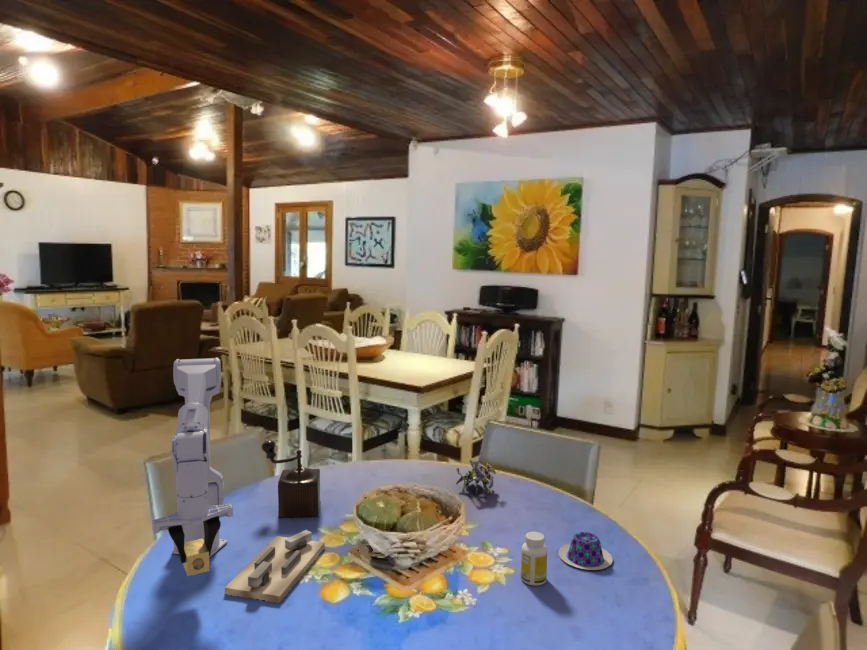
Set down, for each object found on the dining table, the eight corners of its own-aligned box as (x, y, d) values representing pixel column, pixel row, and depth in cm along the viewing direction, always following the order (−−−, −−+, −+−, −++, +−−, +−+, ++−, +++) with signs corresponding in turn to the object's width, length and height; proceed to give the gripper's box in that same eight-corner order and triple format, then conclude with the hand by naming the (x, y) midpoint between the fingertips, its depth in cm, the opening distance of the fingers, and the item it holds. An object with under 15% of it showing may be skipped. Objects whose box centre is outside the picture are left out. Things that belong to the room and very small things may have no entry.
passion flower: (488, 511, 170) (499, 488, 162) (451, 504, 170) (460, 481, 162) (488, 477, 179) (499, 454, 171) (453, 471, 178) (462, 448, 170)
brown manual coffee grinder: (321, 499, 164) (320, 436, 162) (318, 517, 153) (318, 450, 151) (263, 501, 162) (262, 438, 160) (257, 520, 151) (255, 452, 149)
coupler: (188, 577, 113) (187, 557, 112) (181, 561, 119) (181, 542, 118) (210, 571, 115) (209, 552, 114) (202, 556, 121) (202, 537, 120)
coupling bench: (224, 594, 119) (224, 574, 118) (277, 542, 140) (276, 524, 139) (279, 603, 116) (279, 582, 115) (324, 548, 137) (324, 530, 137)
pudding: (548, 558, 135) (549, 537, 134) (575, 540, 144) (576, 520, 143) (596, 579, 127) (597, 556, 126) (621, 558, 135) (623, 537, 135)
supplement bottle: (548, 575, 127) (549, 532, 126) (544, 588, 122) (546, 544, 121) (523, 570, 129) (524, 528, 128) (518, 583, 124) (519, 539, 123)
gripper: (154, 508, 108) (157, 577, 110) (235, 491, 115) (237, 556, 117) (149, 494, 114) (152, 560, 115) (227, 479, 121) (229, 541, 123)
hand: (195, 557), depth 117 cm, fingers closed on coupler, 4 cm apart
